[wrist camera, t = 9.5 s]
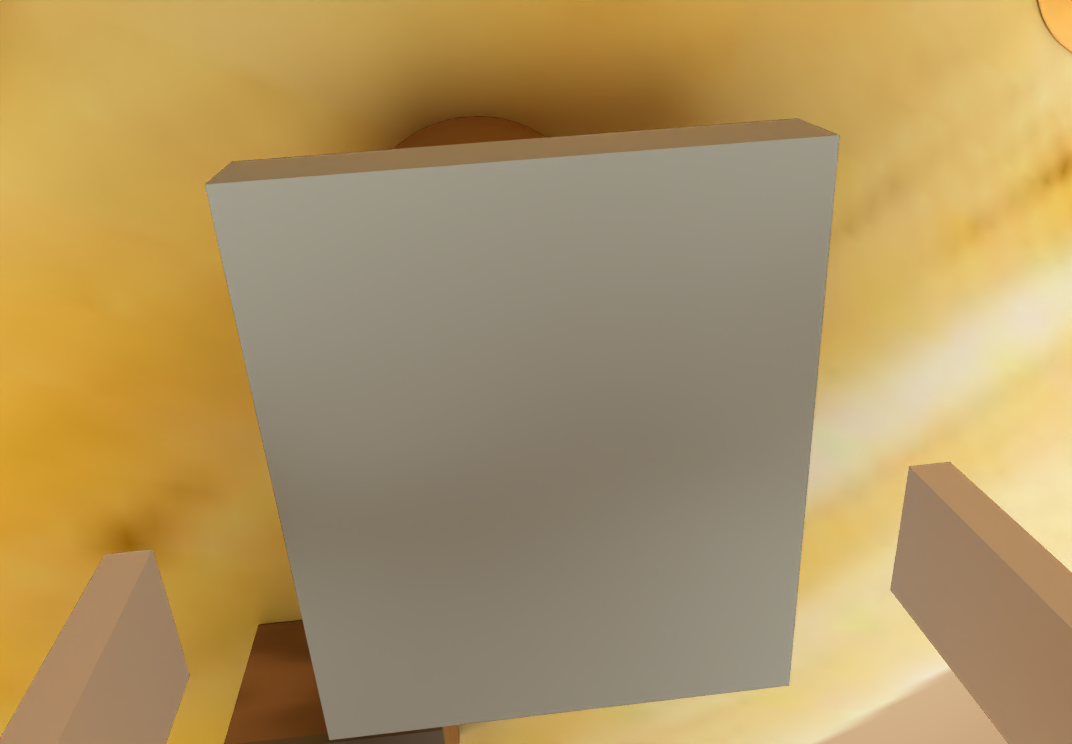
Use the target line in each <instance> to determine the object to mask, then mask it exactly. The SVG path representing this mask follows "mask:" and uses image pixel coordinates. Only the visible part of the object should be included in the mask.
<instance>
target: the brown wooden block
mask: <svg viewBox="0 0 1072 744" xmlns="http://www.w3.org/2000/svg"><path fill="white" fill-rule="evenodd" d="M224 744H459V731H458V725H453V726H444V727H436V728H427V729H419V730H411V731H402V732H394V733H385V734H377V735H369V736H360V737H352V738H343V739H335V740H329V736H328V732H327V728H326V723H325V719H324V714H323V710H322V705H321V701H320V696H319V692H318V687H317V683H316V678H315V674H314V669H313V665H312V661H311V656H310V652H309V647H308V643H307V638H306V634H305V629H304V625H303V620H302V621H293V622H283V623H274V624H264V625H258V629H257V632H256V636H255V639H254V642H253V646H252V649H251V653H250V656H249V660H248V663H247V667H246V670H245V673H244V677H243V680H242V684H241V687H240V691H239V694H238V698H237V701H236V705H235V708H234V711H233V715H232V718H231V722H230V725H229V729H228V732H227V736H226V739H225V742H224Z"/></svg>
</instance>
